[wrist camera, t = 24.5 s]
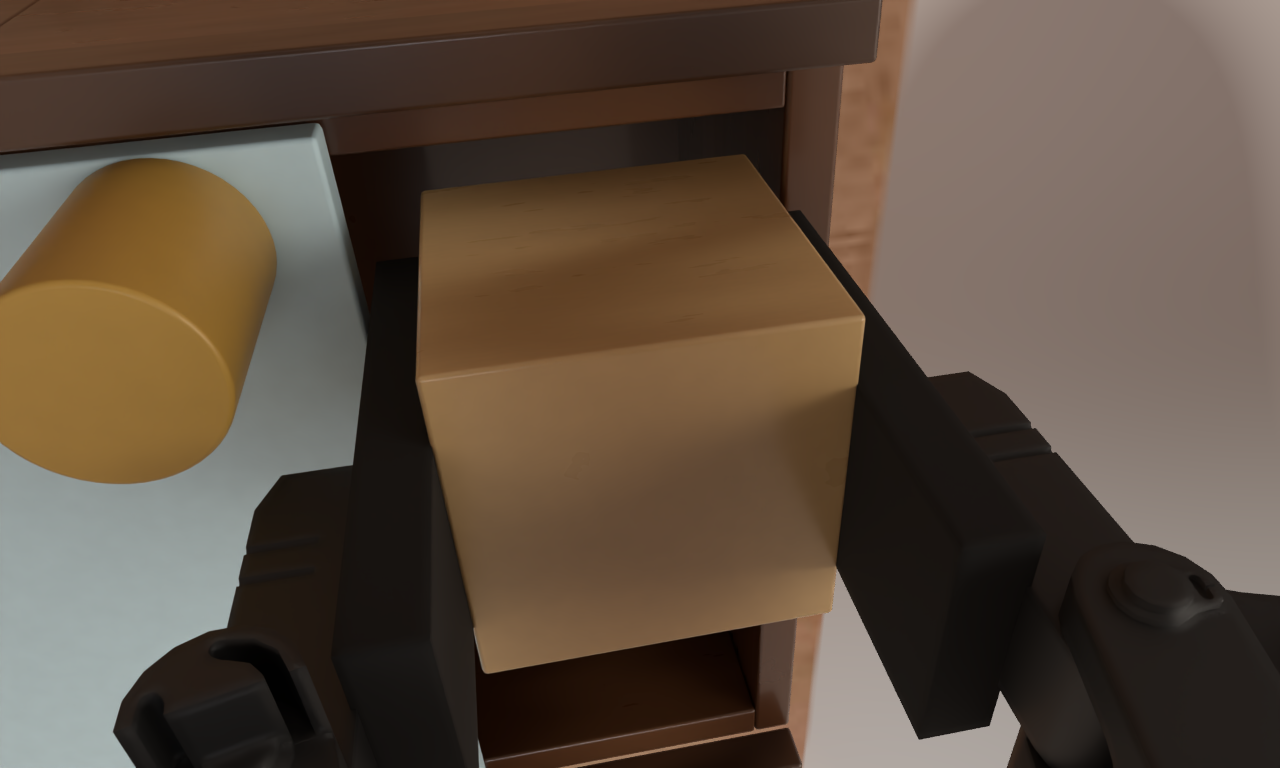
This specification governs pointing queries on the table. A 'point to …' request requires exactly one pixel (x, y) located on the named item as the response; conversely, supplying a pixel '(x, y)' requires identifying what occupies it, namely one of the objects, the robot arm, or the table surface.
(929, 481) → the robot arm
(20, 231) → the pale blue square panel
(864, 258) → the table surface
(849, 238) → the table surface
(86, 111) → the wooden box
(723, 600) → the block
